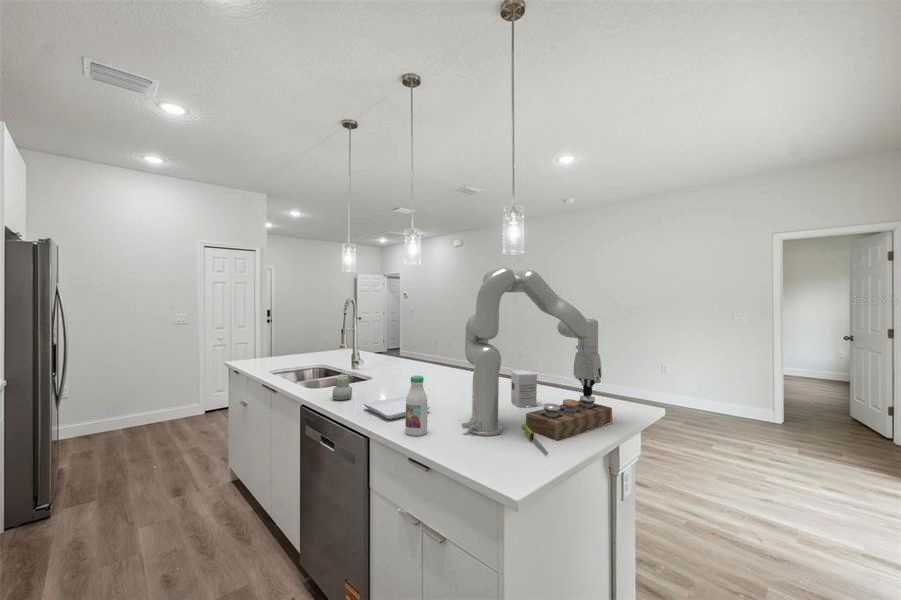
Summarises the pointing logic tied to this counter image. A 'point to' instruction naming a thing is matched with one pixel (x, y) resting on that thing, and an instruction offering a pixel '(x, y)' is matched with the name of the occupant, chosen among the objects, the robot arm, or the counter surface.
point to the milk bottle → (416, 408)
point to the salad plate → (389, 407)
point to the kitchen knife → (533, 438)
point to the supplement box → (523, 388)
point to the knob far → (587, 402)
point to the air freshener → (342, 389)
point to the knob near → (552, 410)
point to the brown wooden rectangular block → (568, 421)
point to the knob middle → (570, 406)
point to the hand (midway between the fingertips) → (587, 395)
